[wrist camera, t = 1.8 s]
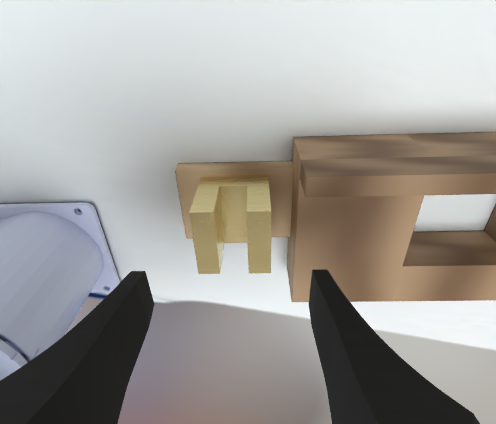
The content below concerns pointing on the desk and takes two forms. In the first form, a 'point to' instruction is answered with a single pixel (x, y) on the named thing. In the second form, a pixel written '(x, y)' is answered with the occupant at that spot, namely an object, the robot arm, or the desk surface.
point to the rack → (374, 213)
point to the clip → (232, 221)
